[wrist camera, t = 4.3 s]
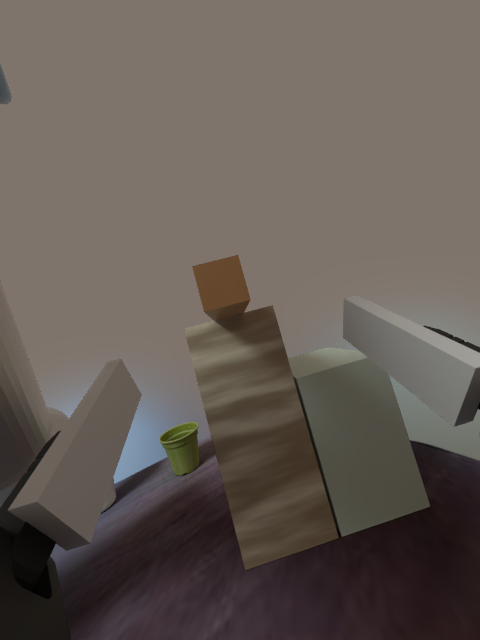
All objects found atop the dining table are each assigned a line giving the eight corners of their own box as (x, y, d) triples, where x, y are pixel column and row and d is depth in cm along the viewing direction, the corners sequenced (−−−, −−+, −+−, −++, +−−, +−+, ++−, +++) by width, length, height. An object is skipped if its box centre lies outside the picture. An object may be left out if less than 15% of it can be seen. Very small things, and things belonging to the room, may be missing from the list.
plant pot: (190, 452, 57) (182, 421, 58) (214, 457, 52) (205, 422, 52) (159, 477, 50) (151, 440, 50) (184, 485, 44) (174, 444, 45)
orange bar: (250, 299, 18) (238, 254, 18) (204, 311, 17) (192, 266, 18) (239, 320, 42) (234, 301, 42) (219, 326, 41) (214, 306, 42)
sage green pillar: (430, 506, 27) (382, 353, 28) (342, 536, 26) (296, 378, 27) (356, 443, 43) (327, 347, 44) (300, 460, 42) (272, 362, 43)
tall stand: (338, 538, 26) (272, 305, 28) (245, 570, 25) (184, 328, 27) (298, 461, 42) (257, 316, 44) (240, 479, 41) (201, 331, 43)
